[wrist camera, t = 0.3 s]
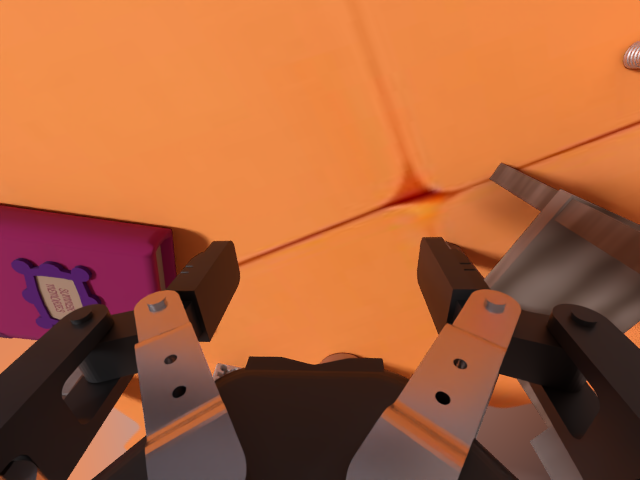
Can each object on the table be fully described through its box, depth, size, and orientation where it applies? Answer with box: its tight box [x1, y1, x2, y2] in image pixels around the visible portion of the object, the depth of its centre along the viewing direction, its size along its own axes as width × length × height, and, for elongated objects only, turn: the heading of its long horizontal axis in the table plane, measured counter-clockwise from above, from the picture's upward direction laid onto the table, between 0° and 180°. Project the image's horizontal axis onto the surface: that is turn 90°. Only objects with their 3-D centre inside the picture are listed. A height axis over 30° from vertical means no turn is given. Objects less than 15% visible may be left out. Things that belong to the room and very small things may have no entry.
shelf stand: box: [445, 163, 640, 428], centre depth 30 cm, size 20×16×34 cm
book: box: [0, 205, 177, 340], centre depth 45 cm, size 21×28×8 cm
